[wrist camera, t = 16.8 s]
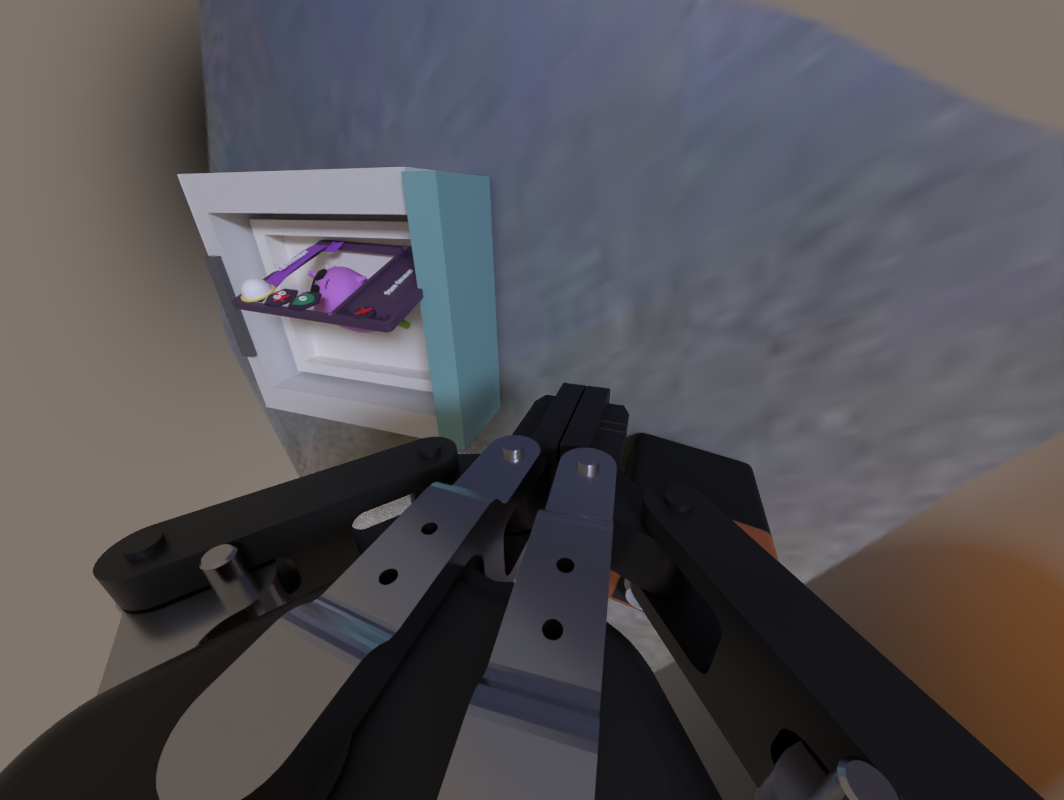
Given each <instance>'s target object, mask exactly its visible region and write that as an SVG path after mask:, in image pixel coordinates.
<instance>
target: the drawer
mask: <svg viewBox="0 0 1064 800" xmlns="http://www.w3.org/2000/svg"><path fill="white" fill-rule="evenodd" d="M401 176H402V183H403V190H404V197H405V204H406V211H407V218H408V220H390V219H318V218H268V219H249V221H250V224H251V227H252V230H253V233H254V236H255V239H256V242H257V245H258V249H259V252H260V255H261V258H262V261H263V264H264V267H265V270H266V273H267V276H268V275H270V274H271V273H273V272H274V269H276V268H277V267H279V268H280V266H283V265H284V264H285V263H286V262H288V261H289V259H290V260H291V259H292V258H294V257H295V256H296V255H298V254H299V253H300V252H302V251H303V250H305V249H307V248H308V247H310V246H312V245H314V244H316V243H317V242H319V241H320V240H336V241H348V242H360V243H372V244H383V245H395V246H407V247H412V252H413V259H414V266H415V273H416V280H417V287H418V288H419V289H423V298H422V299H421V300H420V302H419V303H418V304H417V305H416V306H415V307H414V308H413V309H412V310H411V312H410V313H409V314H408V315H407V316H406V317H405V318H404V320H405V321H407V322H409V323H410V328H409V329H405V328H404V327H398V326H397V327H396V328H395V329H394V330H393V331H391V332H388V333H386V332H379V331H377V332H371V333H363V332H355V331H351V330H347V329H344V328H341V327H339V326H337V325H335V324H329V323H322V322H316V321H310V320H303V319H297V318H291V317H284V316H281V319H282V323H283V326H284V329H285V332H286V335H287V338H288V341H289V344H290V347H291V350H292V353H293V357H294V360H295V363H296V366H297V369H298V371H303V372H310V373H316V374H322V375H328V376H334V377H340V378H347V379H353V380H359V381H365V382H371V383H378V384H384V385H390V386H396V387H402V388H409V389H415V390H421V391H427V392H433V398H434V405H435V412H436V419H437V426H438V433H439V437H444V438H448V439H450V440H452V441H453V442H454V443H455V444H456V446H457V450H462V451H466V450H467V449H468V447H469V446H470V445H471V444H472V442H473V441H474V440H475V439H476V438H477V436H478V435H479V434H480V433H481V432H482V430H483V429H484V428H485V427H486V426H487V424H488V423H489V422H490V421H491V420H492V418H493V417H494V416H495V415H496V413H497V412H498V411H499V410H500V409H501V404H500V384H499V363H498V343H497V323H496V302H495V282H494V261H493V241H492V220H491V200H490V180H489V177H486V176H478V175H469V174H461V173H452V172H444V171H401ZM394 256H395V255H387V254H376V253H365V252H354V251H344V250H336V251H335V252H325V251H323V252H321V253H320V254H318V255H317V256H316V257H314V258H313V259H311V260H310V261H308V262H307V263H306V264H304V265H303V266H301V267H300V268H299V269H297V270H296V271H294V272H293V273H291V274H290V275H289V276H287V277H286V278H285V279H284V280H283V282H282V283H281V284H280V285H279V286H278V287H277V288H276V289H275V292H277V291H280V290H282V289H293V290H298V294H297V296H298V295H300V294H301V293H302V292H305V291H310V289H311V285H312V282H313V278H312V277H310V276H309V275H308V273H310V272H309V271H313V272H316V273H317V272H318V271H319V270H322V269H326V270H327V268H326V267H325V265H326V266H328V267H329V268H332V267H334V265H335V266H336V267H338V266H341V267H346V268H349V269H352V270H354V271H356V272H358V273H359V274H361V275H363V276H366V278H368V279H369V278H370V277H372V276H373V275H374V274H375V273H376V272H377V271H378V270H380V269H381V268H382V267H383V266H384V265H385V264H386V263H388V262H389V261H390V260H391V259H392V258H393V257H394ZM275 292H274V293H275ZM288 305H289V303H287V304H285V305H282V306H286V307H288ZM313 309H314V306H312V307H310V308H308V309H306V310H313Z"/></svg>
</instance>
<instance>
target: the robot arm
mask: <svg viewBox="0 0 1064 800" xmlns="http://www.w3.org/2000/svg"><path fill="white" fill-rule="evenodd" d="M609 398H610V389H608V388H601V387H593V386H587V387H586V386H585V385H577V384H569V383H563V385H562V386H561V388H560V390H559V391H558V393H557V395H556V396H551V395H545V396H543V397H542V398H540V399H538V400H536V401H535V402H534V404H533V405H532V407H531V408H530V411H528V413H527V414H526V416H525V417H524V418H523V420H522V421H521V423H520V424H519V426H518V427H517V429H516V430H515V432H514V433H513V434H512V435H510V436H504V437H501V438H498V439H496V440H494V441H493V442H492V443H491V444H490V445H489V446H488V447H487V448H486V449H485V450H484V451H483V452H482V453H481V454H458V453H457V446H456V444H455V443H454V442H453V441H452V440H450V439H448V438H444V437H427V438H423V439H419V440H416V441H413V442H410V443H407V444H404V445H400V446H397V447H394V448H391V449H388V450H385V451H382V452H379V453H376V454H372V455H369V456H366V457H363V458H360V459H357V460H354V461H351V462H347V463H344V464H341V465H338V466H335V467H332V468H329V469H326V470H323V471H319V472H316V473H313V474H310V475H307V476H304V477H301V478H298V479H294V480H292V481H288V482H285V483H282V484H279V485H276V486H273V487H270V488H266V489H263V490H260V491H257V492H254V493H251V494H248V495H245V496H242V497H238V498H235V499H232V500H229V501H226V502H223V503H220V504H217V505H213V506H210V507H207V508H204V509H201V510H198V511H195V512H192V513H188V514H185V515H182V516H179V517H176V518H173V519H170V520H167V521H163V522H160V523H158V524H154V525H151V526H149V527H146V528H143V529H141V530H139V531H136V532H134V533H133V534H130V535H129V536H127V537H125V538H123V539H122V540H120V541H119V542H117V543H116V544H114V545H113V546H112V547H110V548H109V549H108V550H107V551H106V552H104V553H103V554H102V556H101V557H100V558H99V559H98V560H97V562H96V563H95V565H94V568H93V574H94V576H95V577H96V579H97V580H98V581H99V582H100V584H101V585H102V586H103V587H104V588H105V590H106V591H107V592H108V593H109V594H110V596H111V597H112V598H113V599H114V601H115V602H116V607H117V609H118V610H119V611H120V612H121V614H122V617H121V621H120V624H119V628H118V631H117V634H116V637H115V640H114V643H113V646H112V650H111V653H110V656H109V659H108V663H107V665H106V669H105V672H104V675H103V678H102V681H101V685H100V688H99V691H98V694H97V696H96V697H94V698H93V699H91V700H89V701H87V702H86V703H84V704H83V705H81V706H79V707H78V708H77V709H75V710H74V711H73V712H71V713H69V714H68V715H66V716H65V717H64V718H62V719H61V720H60V721H58V722H57V723H56V724H54V725H53V726H52V727H51V728H49V729H48V730H47V731H45V732H44V733H43V734H42V735H40V736H39V737H38V738H37V739H36V740H35V741H34V742H32V744H30V745H29V746H28V747H27V748H26V749H24V750H23V751H22V752H21V753H20V754H19V755H18V756H17V757H16V758H15V759H14V760H13V761H12V762H11V763H10V764H9V765H8V766H7V767H6V768H5V769H4V770H3V771H2V772H1V773H0V800H722V798H721V796H720V794H719V793H718V791H717V789H716V787H715V785H714V784H713V781H712V780H711V778H710V776H709V774H708V772H707V770H706V769H705V767H704V765H703V763H702V761H701V759H700V758H699V756H698V754H697V752H696V750H695V748H694V747H693V745H692V743H691V741H690V739H689V737H688V736H687V734H686V732H685V730H684V728H683V726H682V725H681V723H680V721H679V719H678V717H677V715H676V714H675V712H674V710H673V708H672V706H671V705H670V703H669V701H668V699H667V697H666V695H665V693H664V692H663V690H662V688H661V686H660V684H659V682H658V681H657V679H656V677H655V675H654V674H653V672H652V670H651V668H650V667H649V665H648V664H647V662H646V661H645V660H644V658H643V657H642V655H641V654H640V653H639V651H638V650H637V649H636V648H635V647H634V646H633V645H632V643H631V642H630V641H629V640H628V639H627V638H626V637H625V636H623V635H622V634H621V633H620V632H619V631H618V630H617V629H615V628H614V627H613V626H612V625H610V624H609V623H608V622H606V619H607V606H608V592H609V579H610V570H612V571H613V572H615V573H617V574H619V575H620V576H622V577H624V578H625V579H627V580H629V581H630V583H629V584H630V589H631V592H632V594H633V596H634V598H635V599H636V601H637V602H638V604H639V605H640V607H641V608H642V610H643V611H644V613H645V614H646V616H647V618H648V619H649V621H650V622H651V624H652V625H653V627H654V628H655V630H656V631H657V633H658V635H659V636H660V638H661V639H662V641H663V642H664V644H665V645H666V647H667V648H668V650H669V652H670V653H671V655H672V656H673V658H674V659H675V661H676V662H677V664H678V665H679V667H680V668H681V670H682V671H683V673H684V675H685V676H686V678H687V679H688V681H689V682H690V684H691V685H692V687H693V689H694V690H695V691H696V693H697V695H698V696H699V698H700V699H701V701H702V702H703V704H704V705H705V707H706V708H707V710H708V711H709V713H710V715H711V716H712V718H713V719H714V721H715V722H716V724H717V725H718V727H719V729H720V730H721V732H722V733H723V735H724V736H725V738H726V739H727V741H728V742H729V744H730V745H731V747H732V749H733V750H734V752H735V753H736V755H737V756H738V758H739V759H740V761H741V763H742V764H743V766H744V767H745V769H746V770H747V772H748V773H749V775H750V776H751V778H752V780H753V781H754V783H755V784H756V786H757V787H758V791H757V793H756V796H755V800H1044V799H1043V798H1042V797H1041V796H1040V795H1039V794H1037V792H1035V791H1034V790H1033V789H1032V788H1031V787H1030V786H1029V785H1028V784H1026V783H1025V782H1024V781H1023V780H1022V779H1021V778H1020V777H1019V776H1018V775H1016V774H1015V773H1014V772H1013V771H1012V770H1011V769H1010V768H1009V767H1007V766H1006V765H1005V764H1004V763H1003V762H1002V761H1001V760H1000V759H999V758H997V757H996V756H995V755H994V754H993V753H992V752H990V751H989V750H988V749H987V748H986V747H985V746H984V745H983V744H982V743H981V742H980V741H978V740H977V739H976V738H975V737H974V736H973V735H972V734H970V733H969V732H968V731H967V730H966V729H965V728H964V727H963V726H962V725H960V724H959V723H958V722H957V721H956V720H955V719H954V718H953V717H952V716H950V715H949V714H948V713H947V712H946V711H945V710H944V709H943V708H941V707H940V706H939V705H938V704H937V703H936V702H935V701H934V700H932V699H931V698H930V697H929V696H928V695H927V694H926V693H925V692H923V690H921V689H920V688H919V687H918V686H917V685H916V684H915V683H913V682H912V681H911V680H910V679H909V678H908V677H907V676H906V675H905V674H904V673H902V672H901V671H900V670H899V669H898V668H897V667H896V666H895V665H893V664H892V663H891V662H890V661H889V660H888V659H887V658H885V656H883V655H882V654H881V653H880V652H879V651H878V650H877V649H875V648H874V647H873V646H872V645H871V644H870V643H869V642H868V641H866V639H864V638H863V637H862V636H861V635H860V634H859V633H858V632H857V631H855V630H854V629H853V628H852V627H851V626H850V625H849V624H848V623H846V622H845V621H844V620H843V619H842V618H841V617H840V616H839V615H838V614H836V613H835V612H834V611H833V610H832V609H831V608H830V607H829V606H827V605H826V604H825V603H824V602H823V601H822V600H821V599H820V598H819V597H817V596H816V595H815V594H814V593H813V592H812V591H811V590H809V588H807V587H806V586H805V585H804V584H803V583H802V582H801V581H800V580H798V579H797V578H796V577H795V576H794V575H793V574H792V573H791V572H790V571H788V570H787V569H786V568H785V567H784V566H783V565H782V564H781V563H779V562H778V561H777V560H776V559H775V558H774V557H773V556H772V555H771V554H769V553H768V552H767V551H766V550H765V549H764V548H763V547H762V546H760V545H759V544H758V543H757V542H756V541H755V540H754V539H753V538H752V537H750V536H749V535H748V534H747V533H746V532H745V531H744V530H743V529H741V528H740V527H739V526H738V525H737V524H736V523H735V522H734V521H733V520H731V519H730V518H729V517H728V516H727V515H726V514H725V513H724V512H722V511H721V510H720V509H719V508H718V507H717V506H716V505H715V504H714V503H712V502H711V501H710V500H709V499H708V498H707V497H706V496H705V495H703V494H702V493H701V492H700V491H698V490H696V489H695V488H693V487H691V486H688V485H685V484H682V483H678V482H670V481H665V482H658V483H655V484H653V485H651V486H649V487H648V488H647V489H646V488H643V487H641V486H639V485H637V484H635V483H633V482H632V481H630V480H629V479H628V478H627V477H626V476H625V475H624V474H623V472H622V471H621V467H622V462H623V457H624V450H625V442H626V434H627V427H628V419H629V414H628V412H627V410H626V408H625V407H624V406H623V405H615V404H609ZM409 494H410V498H411V503H412V504H411V505H410V506H409V507H408V508H407V509H406V510H405V511H404V512H403V513H402V514H401V515H398V516H396V517H394V518H391V519H389V520H386V521H384V522H381V523H379V524H377V525H374V526H372V527H369V528H367V529H362V530H358V529H355V528H353V527H352V524H353V522H354V520H355V519H356V518H357V517H358V516H359V515H360V514H362V513H363V512H366V511H368V510H371V509H373V508H376V507H378V506H381V505H383V504H386V503H389V502H391V501H394V500H396V499H399V498H401V497H404V496H407V495H409ZM515 579H516V580H515ZM514 581H515V582H514Z"/></svg>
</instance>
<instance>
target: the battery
mask: <svg viewBox="0 0 1064 800" xmlns="http://www.w3.org/2000/svg"><path fill="white" fill-rule="evenodd" d="M624 475H625V476H626V477H627V478H628V479H629V480H630V481H632V482H633V483H635V484H637V485H639V486H641V487H643V488H646V489H647V488H648V487H649V486H651V485H653V484H655V483H658V482H665V481H670V482H678V483H682V484H685V485H688V486H691V487H693V488H695V489H696V490H698V491H700V492H701V493H702V494H703V495H705V496H706V497H707V498H708V499H709V500H710V501H711V502H712V503H714V504H715V505H716V506H717V507H718V508H719V509H720V510H721V511H722V512H724V513H725V514H726V515H727V516H728V517H729V518H730V519H731V520H733V521H734V522H735V523H736V524H737V525H738V526H739V527H740V528H741V529H743V530H744V531H745V532H746V533H747V534H748V535H749V536H750V537H752V538H753V539H754V540H755V541H756V542H757V543H758V544H759V545H760V546H762V547H763V548H764V549H765V550H766V551H767V552H768V553H769V554H771V555H772V556H773V557H774V558H775V559H776V560H777V561H778V557H777V554H776V550H775V547H774V543H773V540H772V536H771V533H770V529H769V526H768V522H767V519H766V515H765V512H764V508H763V505H762V501H761V498H760V494H759V491H758V487H757V484H756V480H755V477H754V474H753V470H752V468H751V466H750V465H748V464H746V463H744V462H740V461H737V460H734V459H730V458H727V457H724V456H720V455H717V454H714V453H710V452H707V451H703V450H700V449H697V448H693V447H690V446H687V445H683V444H680V443H676V442H673V441H670V440H666V439H663V438H660V437H656V436H653V435H649V434H644V433H643V434H640V435H638V436H637V438H636V441H635V444H634V446H633V449H632V452H631V455H630V458H629V461H628V463H627V466H626V469H625V472H624ZM778 562H779V561H778ZM629 583H630V581H629V580H627V579H625V578H624V577H622V576H620V575H619V574H617V573H615V572H613V571H612V570H610V579H609V592H608V597H609V598H611V599H613V600H615V601H618V602H620V603H622V604H625V605H628V606H630V607H633V608H635V609H638V610H640V611H643V610H642V608H641V607H640V605H639V604H638V602H637V601H636V599H635V598H634V596H633V594H632V592H631V589H630V584H629ZM643 612H644V611H643Z"/></svg>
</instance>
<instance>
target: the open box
mask: <svg viewBox="0 0 1064 800" xmlns="http://www.w3.org/2000/svg"><path fill="white" fill-rule="evenodd" d="M401 171H435V170H427V169H418V168H410V167H386V168H355V169H324V170H293V171H263V172H232V173H202V174H177V175H178V178H179V181H180V183H181V186H182V188H183V191H184V193H185V196H186V198H187V201H188V204H189V206H190V209H191V211H192V214H193V217H194V219H195V222H196V224H197V227H198V230H199V232H200V235H201V238H202V240H203V243H204V245H205V248H206V250H207V253H208V256H204V259H205V261H206V264H207V266H208V269H209V272H210V274H211V277H212V279H213V282H214V284H215V287H216V289H217V292H218V295H219V297H220V300H221V302H222V305H223V307H224V310H225V312H226V315H227V317H228V320H229V323H230V325H231V328H232V330H233V333H234V335H235V338H236V340H237V343H238V345H239V348H240V351H241V353H242V356H247V357H248V359H249V362H250V364H251V367H252V370H253V372H254V375H255V377H256V380H257V383H258V385H259V388H260V390H261V393H262V395H263V398H264V401H265V403H266V406H267V407H270V408H274V409H279V410H284V411H289V412H294V413H299V414H304V415H309V416H314V417H319V418H324V419H329V420H334V421H339V422H343V423H348V424H353V425H358V426H363V427H368V428H373V429H378V430H383V431H388V432H393V433H398V434H403V435H408V436H412V437H417V438H422V439H423V438H427V437H439V433H438V426H437V419H436V412H435V405H434V398H433V392H427V391H421V390H415V389H409V388H402V387H396V386H390V385H384V384H378V383H371V382H365V381H359V380H353V379H347V378H340V377H334V376H328V375H322V374H316V373H310V372H303V371H298V369H297V366H296V363H295V360H294V357H293V353H292V350H291V347H290V344H289V341H288V338H287V335H286V332H285V329H284V326H283V323H282V319H281V316H278V315H272V314H265V313H259V312H253V311H246V310H240V309H237V308H236V307H235V306H234V304H233V303H232V302H231V301H232V300H233V299H234V298H235V297H237V296H238V295H240V294H241V285H242V283H243V282H244V281H245V280H247V279H249V278H260V279H264V278H265V277H267V273H266V270H265V267H264V264H263V261H262V258H261V255H260V252H259V249H258V245H257V242H256V239H255V236H254V233H253V230H252V227H251V224H250V221H249V219H268V218H318V219H390V220H408V218H407V211H406V204H405V197H404V190H403V183H402V176H401ZM266 299H267V298H266ZM266 299H265V300H264V301H263V302H262V303H265V301H266ZM259 303H261V302H259Z"/></svg>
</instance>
